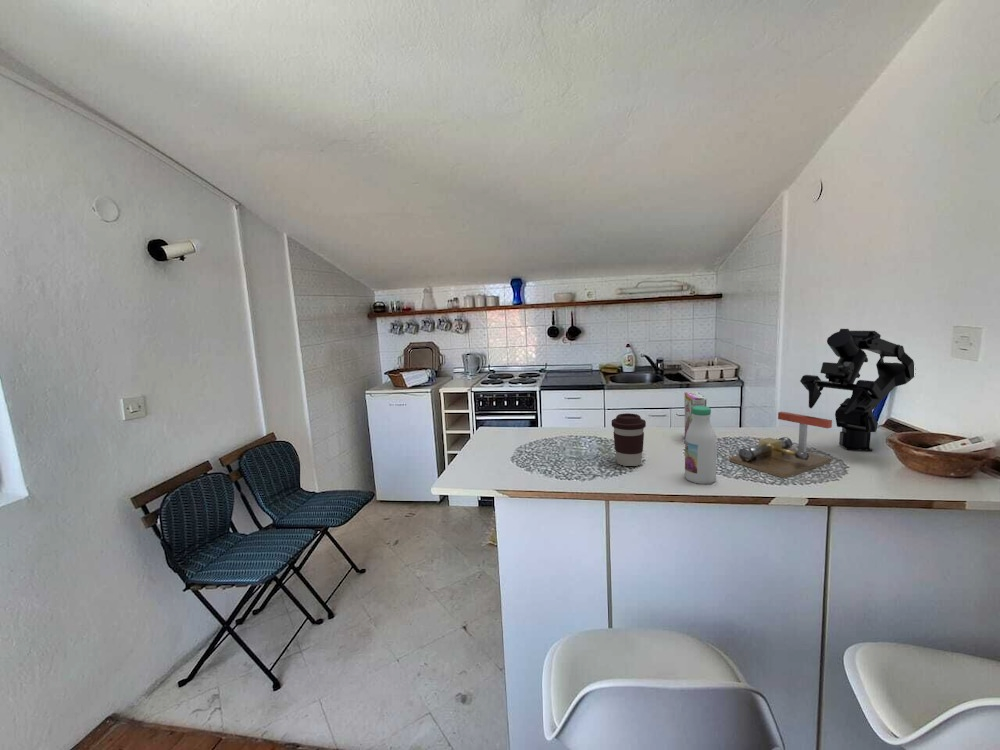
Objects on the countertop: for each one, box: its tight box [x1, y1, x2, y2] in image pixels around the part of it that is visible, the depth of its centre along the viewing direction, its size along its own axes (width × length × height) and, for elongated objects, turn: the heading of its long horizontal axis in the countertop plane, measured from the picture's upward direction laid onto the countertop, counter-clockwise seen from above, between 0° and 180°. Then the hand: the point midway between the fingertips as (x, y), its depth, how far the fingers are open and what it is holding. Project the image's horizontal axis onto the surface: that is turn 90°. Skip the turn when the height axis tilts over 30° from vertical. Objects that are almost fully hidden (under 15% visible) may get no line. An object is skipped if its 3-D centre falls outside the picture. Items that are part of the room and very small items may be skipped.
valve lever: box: [777, 411, 833, 460], centre depth 120 cm, size 2×13×13 cm, turn 26°
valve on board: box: [728, 436, 832, 479], centre depth 124 cm, size 22×16×5 cm
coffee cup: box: [611, 412, 647, 467], centre depth 129 cm, size 10×10×15 cm
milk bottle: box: [684, 406, 718, 485], centre depth 114 cm, size 8×8×20 cm
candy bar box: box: [684, 391, 707, 438], centre depth 147 cm, size 11×5×16 cm, turn 168°
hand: (826, 410), depth 124 cm, fingers open, 9 cm apart
